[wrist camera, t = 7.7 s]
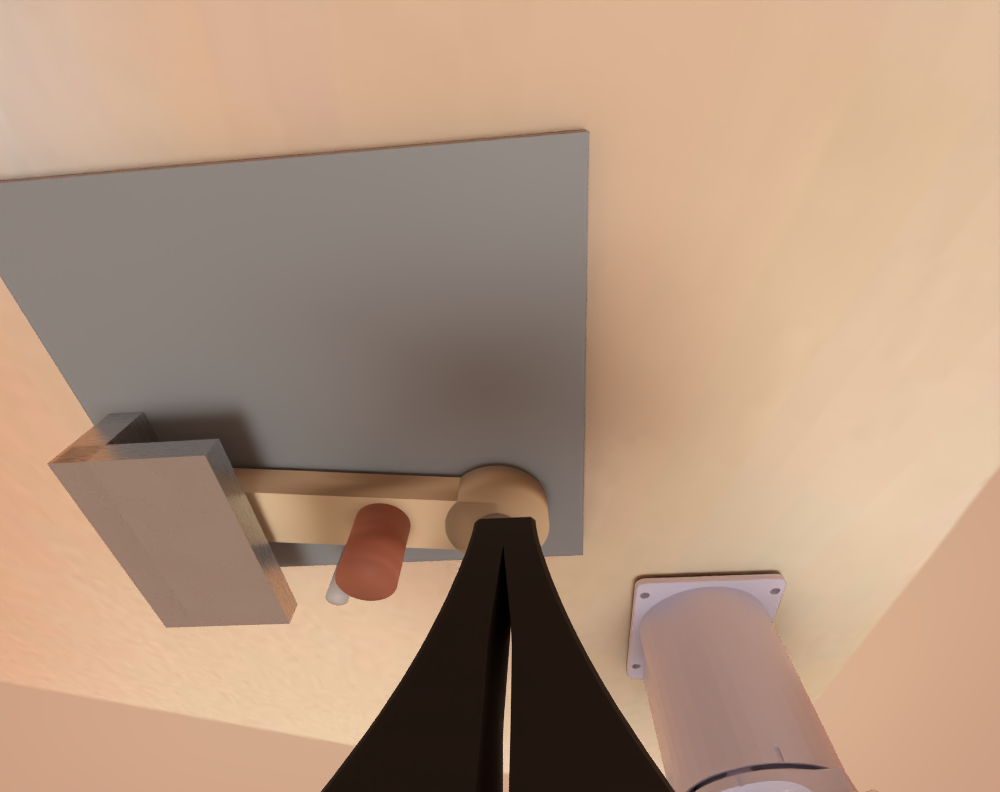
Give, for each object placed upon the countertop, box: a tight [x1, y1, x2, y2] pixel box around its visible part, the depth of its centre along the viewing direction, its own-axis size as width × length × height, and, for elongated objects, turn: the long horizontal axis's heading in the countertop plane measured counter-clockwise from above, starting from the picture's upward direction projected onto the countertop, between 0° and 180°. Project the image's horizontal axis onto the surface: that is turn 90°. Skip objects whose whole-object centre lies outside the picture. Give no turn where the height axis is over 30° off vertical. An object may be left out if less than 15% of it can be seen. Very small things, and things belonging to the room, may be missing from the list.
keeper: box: [48, 412, 297, 627], centre depth 22 cm, size 10×6×4 cm, turn 5°
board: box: [0, 130, 589, 605], centre depth 20 cm, size 19×21×4 cm
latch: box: [233, 465, 549, 601], centre depth 21 cm, size 15×5×4 cm, turn 88°
